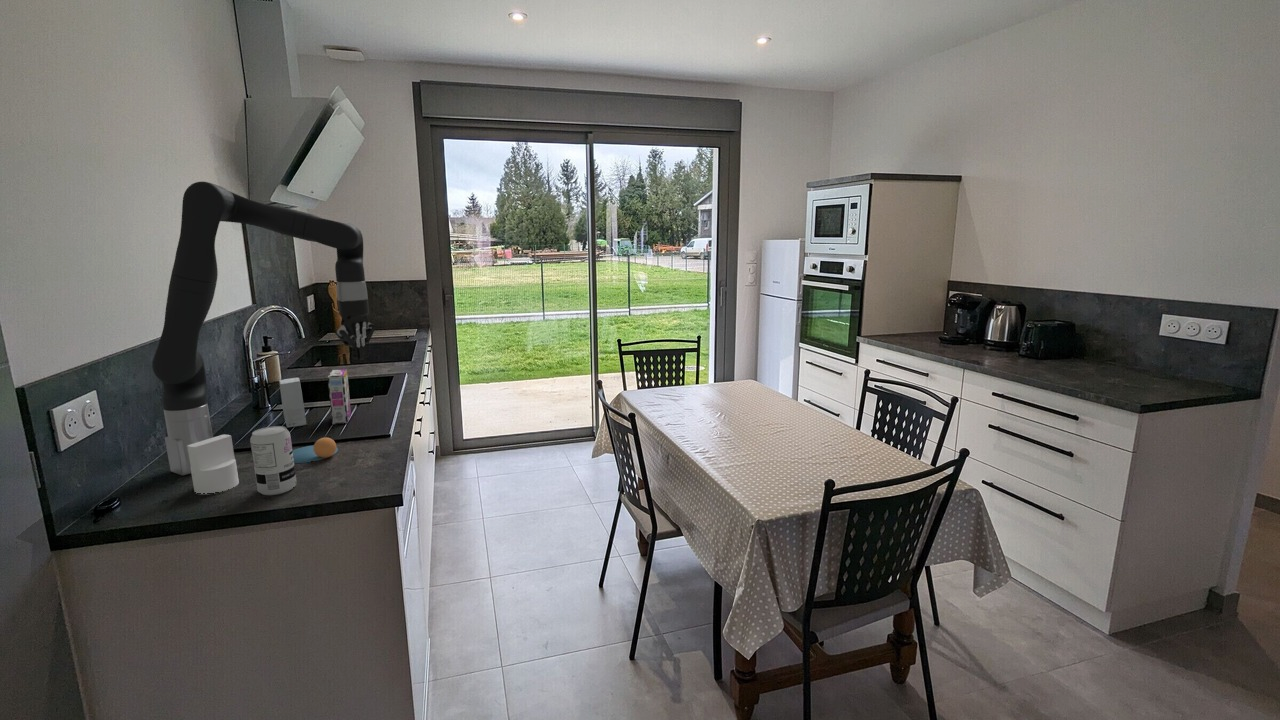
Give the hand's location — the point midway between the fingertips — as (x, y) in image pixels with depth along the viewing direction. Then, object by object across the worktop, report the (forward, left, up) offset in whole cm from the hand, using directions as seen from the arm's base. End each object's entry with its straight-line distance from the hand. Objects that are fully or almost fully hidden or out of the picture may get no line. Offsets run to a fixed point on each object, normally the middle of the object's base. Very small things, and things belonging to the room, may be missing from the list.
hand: (359, 359), depth 164 cm
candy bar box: (+16, +33, -27) cm, 46 cm away
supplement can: (-28, -4, -27) cm, 39 cm away
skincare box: (+6, +43, -27) cm, 51 cm away
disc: (-10, +12, -27) cm, 31 cm away
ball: (-9, +6, -24) cm, 26 cm away
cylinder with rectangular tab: (-34, +11, -27) cm, 45 cm away
